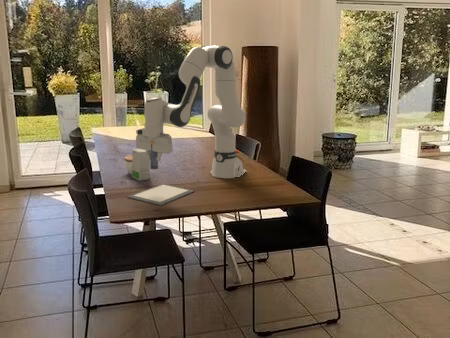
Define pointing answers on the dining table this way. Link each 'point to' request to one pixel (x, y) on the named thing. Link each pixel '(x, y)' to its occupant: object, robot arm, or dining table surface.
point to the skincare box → (140, 164)
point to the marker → (153, 158)
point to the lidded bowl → (128, 163)
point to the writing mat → (160, 194)
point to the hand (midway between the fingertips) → (154, 160)
